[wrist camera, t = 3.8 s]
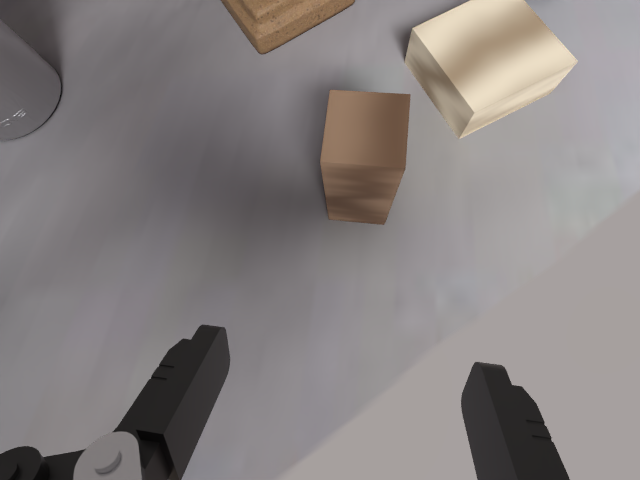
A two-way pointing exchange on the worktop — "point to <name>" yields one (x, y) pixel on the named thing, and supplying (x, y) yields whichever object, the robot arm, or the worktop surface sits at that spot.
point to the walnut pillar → (363, 153)
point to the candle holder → (280, 18)
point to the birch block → (486, 61)
